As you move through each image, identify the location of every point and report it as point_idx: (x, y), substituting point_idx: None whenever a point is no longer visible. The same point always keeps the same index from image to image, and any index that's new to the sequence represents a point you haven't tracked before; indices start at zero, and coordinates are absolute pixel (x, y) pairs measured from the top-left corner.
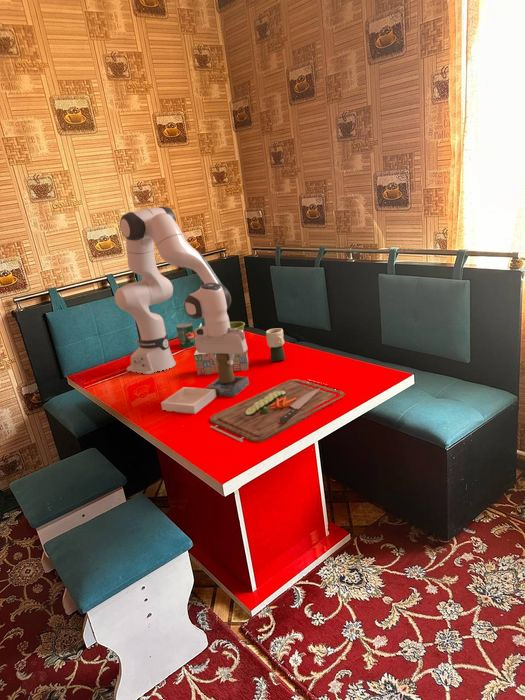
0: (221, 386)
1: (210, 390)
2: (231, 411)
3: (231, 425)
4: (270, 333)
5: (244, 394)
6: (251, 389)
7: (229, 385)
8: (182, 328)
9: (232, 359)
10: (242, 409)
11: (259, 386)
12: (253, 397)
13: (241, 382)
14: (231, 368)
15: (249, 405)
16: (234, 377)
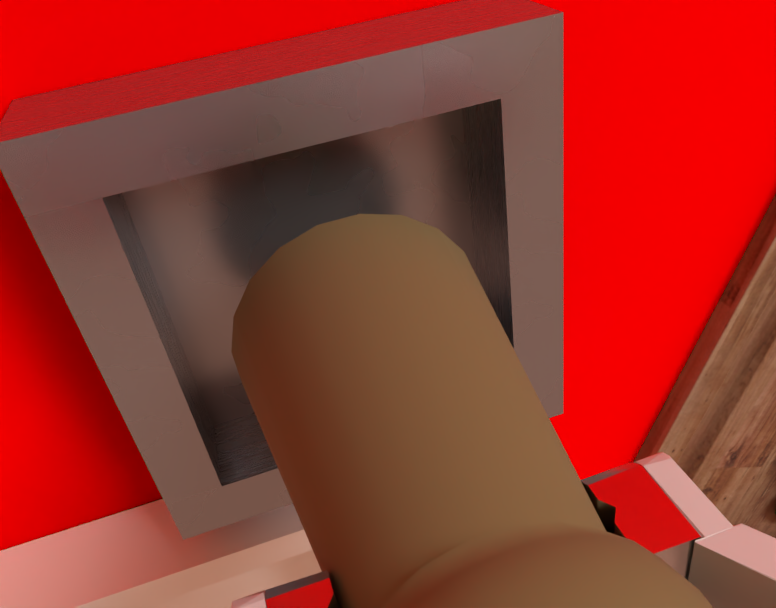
0: (185, 268)
1: None
2: None
3: None
4: None
5: (597, 268)
6: (616, 129)
7: (276, 192)
8: None
9: (725, 531)
10: (731, 490)
11: (681, 3)
12: (749, 319)
13: (560, 224)
14: (534, 391)
15: (761, 429)
16: (471, 266)
